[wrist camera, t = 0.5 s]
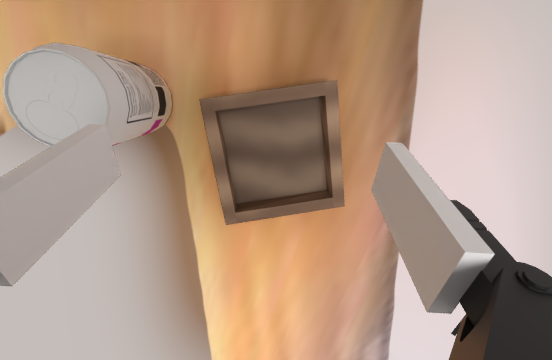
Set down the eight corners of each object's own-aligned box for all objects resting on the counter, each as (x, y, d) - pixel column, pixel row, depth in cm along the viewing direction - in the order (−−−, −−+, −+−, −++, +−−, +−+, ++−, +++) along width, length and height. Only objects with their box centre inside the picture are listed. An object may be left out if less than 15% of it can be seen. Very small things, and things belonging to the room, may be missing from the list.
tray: (205, 99, 34) (199, 99, 30) (327, 82, 35) (337, 80, 31) (228, 212, 39) (225, 225, 35) (335, 195, 40) (344, 206, 36)
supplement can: (159, 143, 35) (96, 174, 21) (96, 113, 34) (-20, 125, 19) (184, 86, 34) (132, 77, 19) (118, 51, 32) (8, 13, 18)
